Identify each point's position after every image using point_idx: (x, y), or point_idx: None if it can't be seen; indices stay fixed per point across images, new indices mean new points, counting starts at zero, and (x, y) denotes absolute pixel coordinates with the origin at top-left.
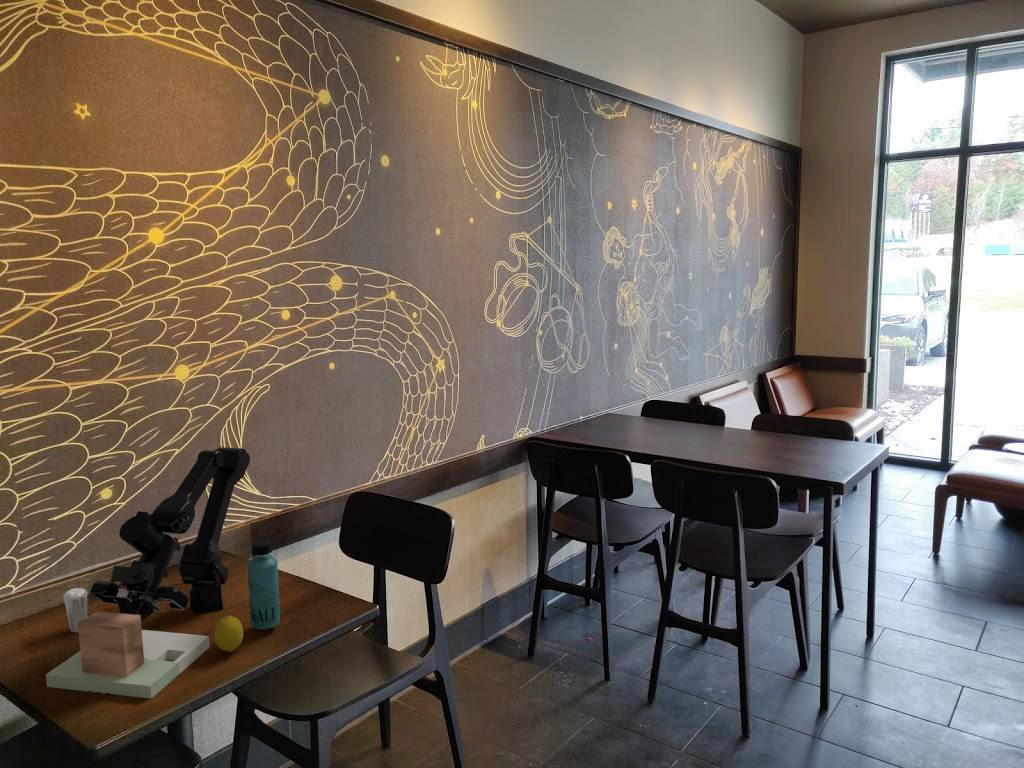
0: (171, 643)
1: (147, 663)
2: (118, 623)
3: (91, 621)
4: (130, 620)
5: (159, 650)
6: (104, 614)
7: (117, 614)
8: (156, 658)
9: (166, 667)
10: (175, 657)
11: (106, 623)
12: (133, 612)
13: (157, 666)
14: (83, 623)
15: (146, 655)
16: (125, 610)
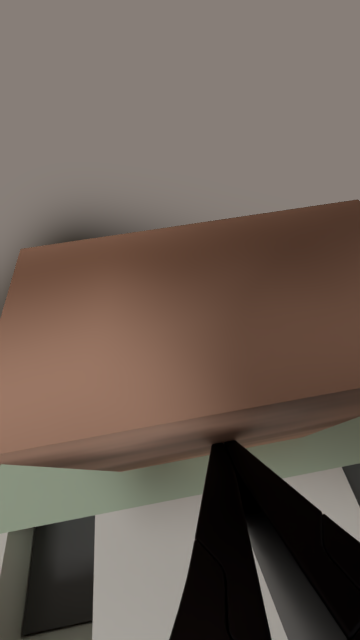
0: None
1: (107, 474)
2: (89, 273)
3: (303, 232)
4: (14, 331)
5: (129, 616)
6: (349, 333)
7: (233, 382)
8: (97, 529)
9: (18, 477)
10: (67, 634)
11: (176, 249)
12: (213, 631)
13: (56, 469)
14: (319, 206)
15: (156, 536)
16: (350, 623)
